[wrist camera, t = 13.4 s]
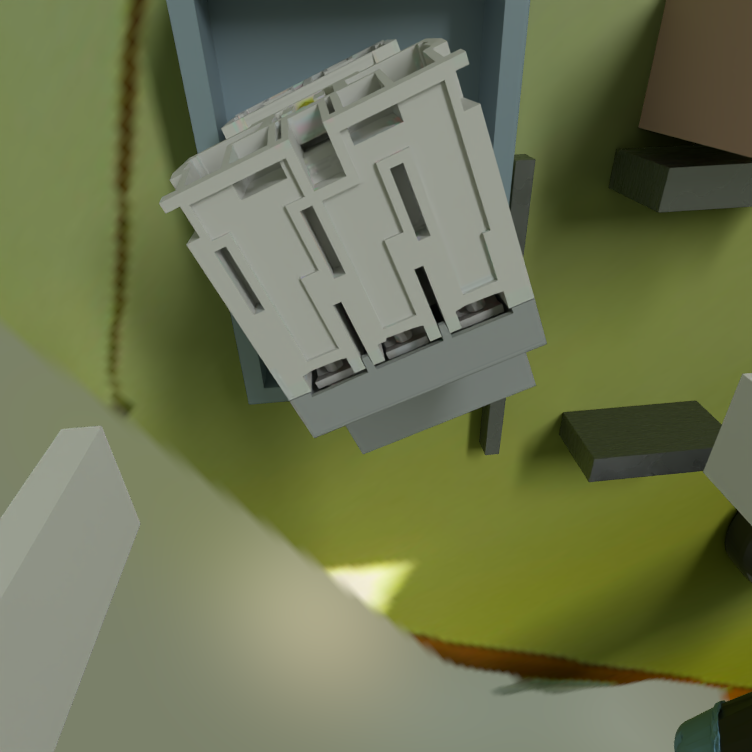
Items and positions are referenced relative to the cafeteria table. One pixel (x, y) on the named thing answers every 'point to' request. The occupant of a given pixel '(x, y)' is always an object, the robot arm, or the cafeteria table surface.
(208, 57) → the tray
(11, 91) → the cafeteria table surface
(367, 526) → the cafeteria table surface
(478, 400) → the circuit breaker
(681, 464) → the grey blocks
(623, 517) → the cafeteria table surface
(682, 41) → the beige rectangular block
